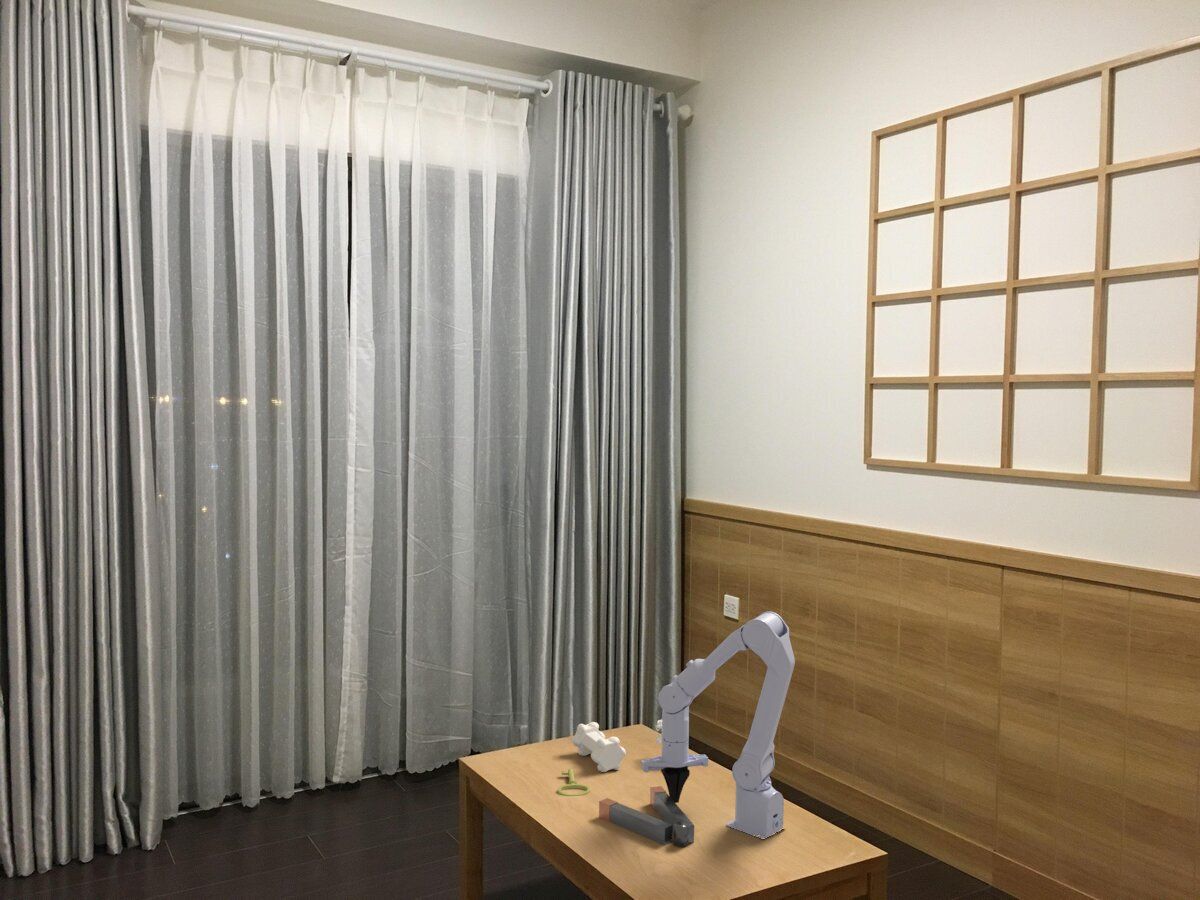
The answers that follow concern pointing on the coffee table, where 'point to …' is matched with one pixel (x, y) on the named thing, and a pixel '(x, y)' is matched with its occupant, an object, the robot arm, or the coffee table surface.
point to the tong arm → (672, 816)
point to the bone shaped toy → (598, 747)
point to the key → (572, 785)
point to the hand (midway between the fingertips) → (674, 801)
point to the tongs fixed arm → (635, 821)
